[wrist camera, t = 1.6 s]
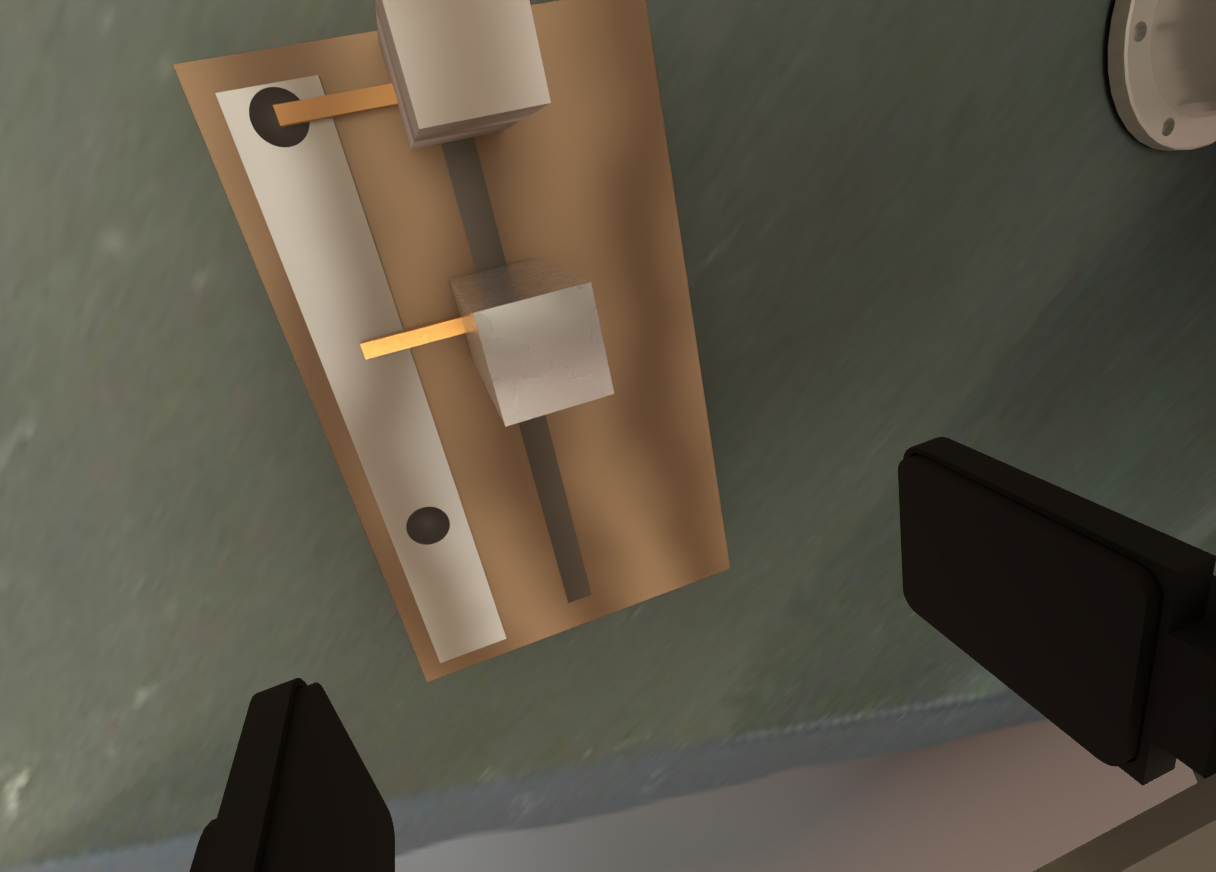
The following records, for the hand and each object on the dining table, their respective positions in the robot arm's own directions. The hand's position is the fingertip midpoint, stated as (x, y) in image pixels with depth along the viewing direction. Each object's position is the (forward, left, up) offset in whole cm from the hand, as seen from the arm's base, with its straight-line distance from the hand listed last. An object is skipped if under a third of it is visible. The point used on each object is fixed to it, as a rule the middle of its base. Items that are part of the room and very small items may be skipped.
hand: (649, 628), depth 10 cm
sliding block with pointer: (+1, -2, -18) cm, 18 cm away
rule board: (-1, +1, -20) cm, 20 cm away
